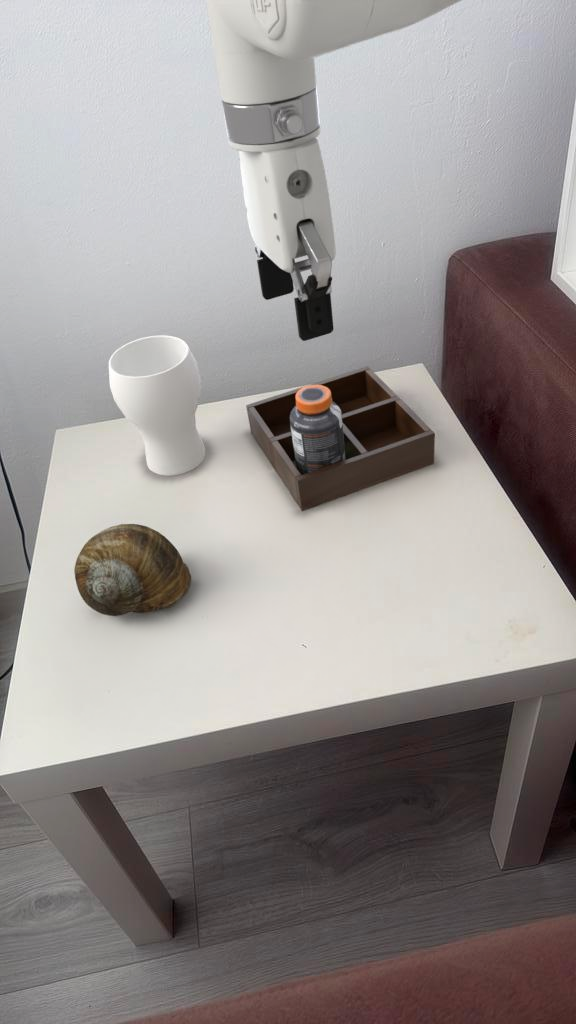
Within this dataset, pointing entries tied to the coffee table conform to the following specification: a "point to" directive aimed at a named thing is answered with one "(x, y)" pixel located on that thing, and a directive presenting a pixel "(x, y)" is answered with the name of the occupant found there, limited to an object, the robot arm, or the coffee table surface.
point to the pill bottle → (316, 429)
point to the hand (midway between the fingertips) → (296, 314)
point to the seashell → (130, 571)
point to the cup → (160, 400)
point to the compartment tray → (346, 439)
